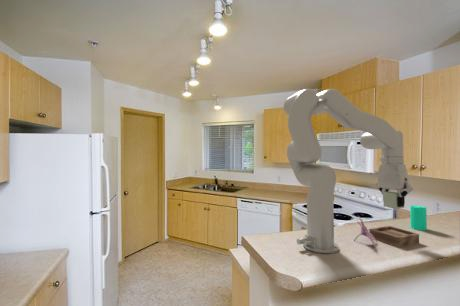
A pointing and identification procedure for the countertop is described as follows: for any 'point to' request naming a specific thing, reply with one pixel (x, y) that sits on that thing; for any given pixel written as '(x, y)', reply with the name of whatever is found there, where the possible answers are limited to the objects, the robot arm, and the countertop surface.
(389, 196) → the sage block
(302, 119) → the robot arm
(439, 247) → the countertop surface
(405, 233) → the base block
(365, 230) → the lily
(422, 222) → the candle
